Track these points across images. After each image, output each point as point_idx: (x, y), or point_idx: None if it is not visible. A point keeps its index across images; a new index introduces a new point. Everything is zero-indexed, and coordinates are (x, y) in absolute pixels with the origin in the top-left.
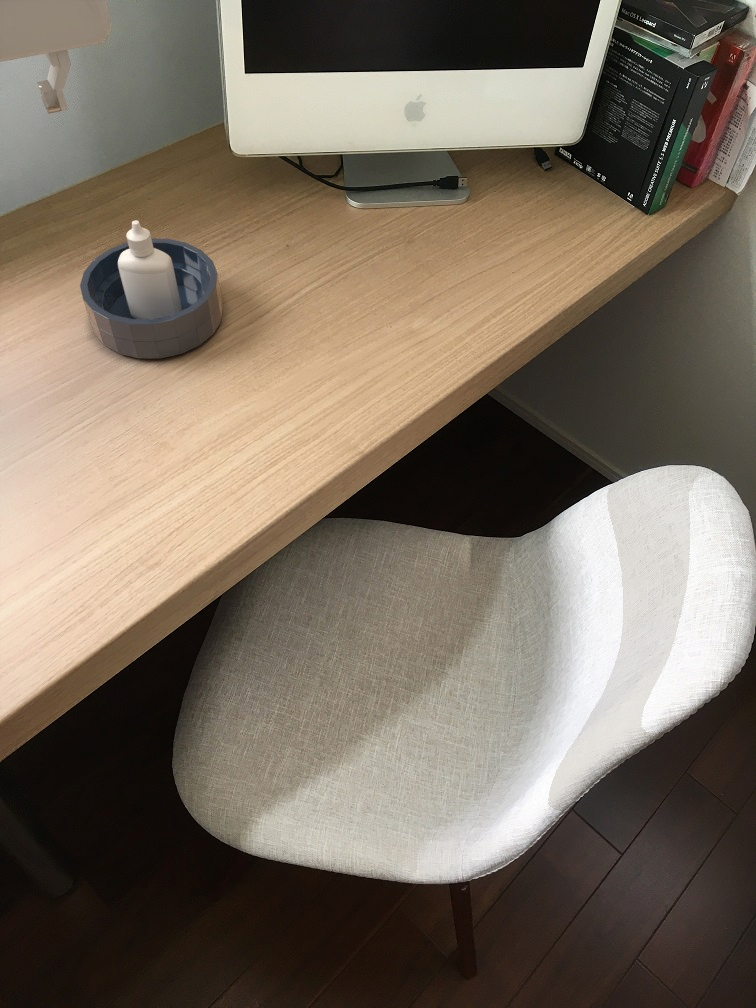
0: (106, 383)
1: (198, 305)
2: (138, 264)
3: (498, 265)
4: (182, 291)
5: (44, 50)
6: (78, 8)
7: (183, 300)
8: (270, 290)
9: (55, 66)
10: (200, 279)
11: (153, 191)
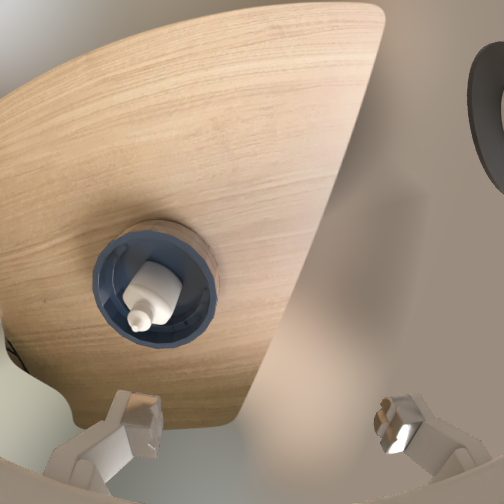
0: (232, 221)
1: (121, 237)
2: (153, 298)
3: None
4: None
5: (85, 497)
6: None
7: None
8: (68, 260)
9: (97, 465)
10: (111, 286)
11: None
